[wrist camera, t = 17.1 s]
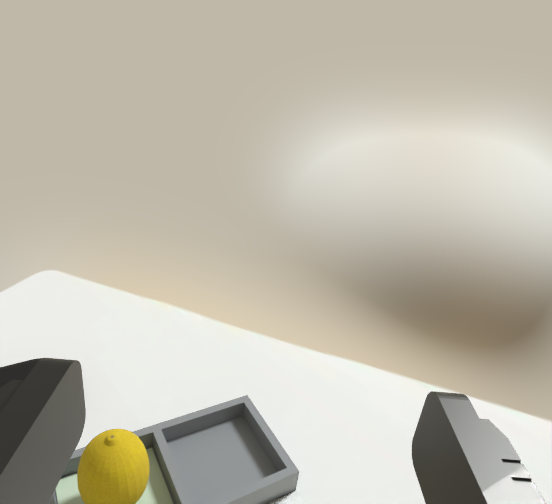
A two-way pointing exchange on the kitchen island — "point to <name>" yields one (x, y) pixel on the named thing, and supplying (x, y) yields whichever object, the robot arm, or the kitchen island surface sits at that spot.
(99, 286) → the kitchen island surface
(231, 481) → the organiser tray
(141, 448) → the lemon
